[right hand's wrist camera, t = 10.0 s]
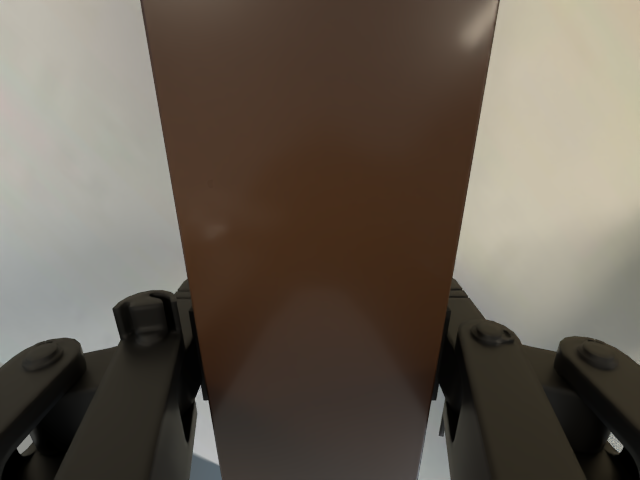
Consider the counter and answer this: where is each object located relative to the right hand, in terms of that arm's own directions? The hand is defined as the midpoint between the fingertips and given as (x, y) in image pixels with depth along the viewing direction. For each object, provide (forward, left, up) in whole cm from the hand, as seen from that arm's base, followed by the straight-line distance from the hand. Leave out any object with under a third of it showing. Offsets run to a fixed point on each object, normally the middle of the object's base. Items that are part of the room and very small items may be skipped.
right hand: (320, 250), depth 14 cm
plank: (0, -15, +1) cm, 15 cm away
